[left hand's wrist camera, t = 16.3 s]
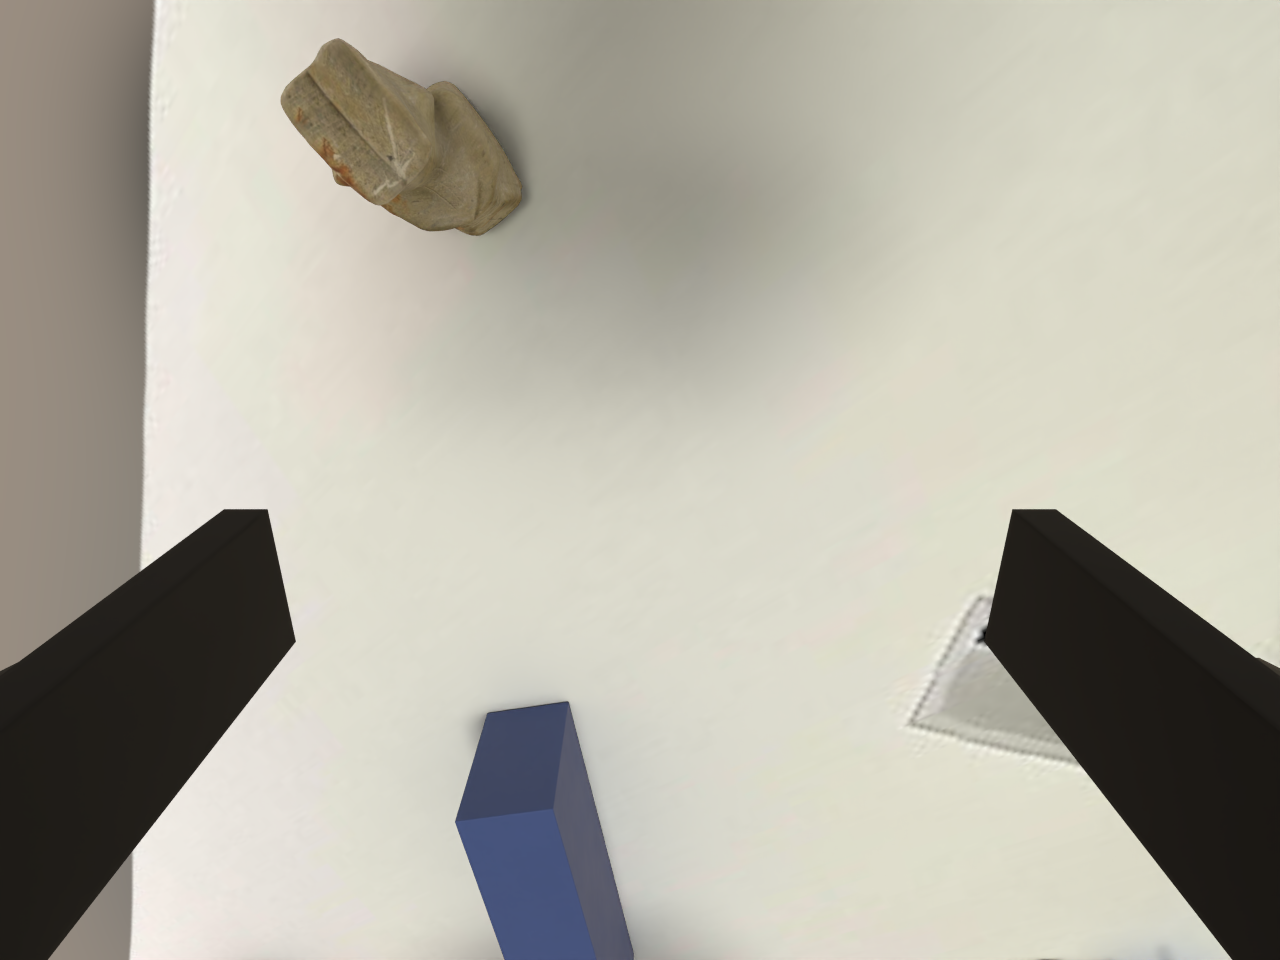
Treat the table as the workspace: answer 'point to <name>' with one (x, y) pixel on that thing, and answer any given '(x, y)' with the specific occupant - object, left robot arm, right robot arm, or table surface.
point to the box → (540, 841)
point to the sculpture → (402, 142)
